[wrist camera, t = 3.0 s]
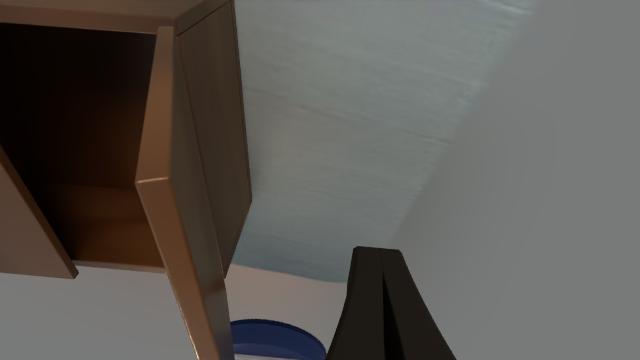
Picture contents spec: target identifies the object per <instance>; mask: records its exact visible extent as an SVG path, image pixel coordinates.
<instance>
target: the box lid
mask: <svg viewBox="0 0 640 360" xmlns="http://www.w3.org/2000/svg"><path fill="white" fill-rule="evenodd" d="M135 186H136V189H137V191H138V194H139V197H140V200H141V203H142V205H143V208H144V211H145V214H146V217H147V219H148V222H149V225H150V228H151V230H152V233H153V236H154V239H155V242H156V244H157V247H158V250H159V253H160V256H161V258H162V261H163V264H164V267H165V269H166V272H167V275H168V278H169V280H170V283H171V286H172V289H173V292H174V295H175V297H176V300H177V303H178V306H179V308H180V311H181V314H182V317H183V319H184V322H185V325H186V328H187V331H188V334H189V336H190V339H191V342H192V345H193V347H194V350H195V353H196V356H197V359H198V360H235V357H234V349H233V341H232V333H231V326H230V318H229V310H228V302H227V295H226V288H225V283H224V278H223V273H222V268H221V262H220V257H219V252H218V247H217V242H216V237H215V232H214V227H213V222H212V217H211V212H210V207H209V202H208V197H207V191H206V186H205V181H204V176H203V171H202V166H201V161H200V156H199V151H198V146H197V141H196V136H195V131H194V126H193V120H192V115H191V110H190V105H189V100H188V95H187V90H186V85H185V80H184V75H183V70H182V65H181V60H180V54H179V49H178V44H177V39H176V34H175V29H174V27H173V26H159V27H158V32H157V39H156V45H155V52H154V58H153V65H152V71H151V78H150V85H149V91H148V98H147V104H146V111H145V117H144V124H143V130H142V137H141V144H140V150H139V157H138V163H137V170H136V176H135Z"/></svg>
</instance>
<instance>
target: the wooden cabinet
mask: <svg viewBox="0 0 640 360" xmlns="http://www.w3.org/2000/svg"><path fill="white" fill-rule="evenodd" d="M159 26H173V27H174V29H175V34H176V39H177V44H178V49H179V54H180V60H181V65H182V70H183V75H184V80H185V85H186V90H187V95H188V100H189V105H190V110H191V115H192V120H193V126H194V131H195V136H196V141H197V146H198V151H199V156H200V161H201V166H202V171H203V176H204V181H205V186H206V191H207V197H208V202H209V207H210V212H211V217H212V222H213V227H214V232H215V237H216V242H217V247H218V252H219V257H220V262H221V268H222V273H223V278H224V279H225V278H226V275H227V271H228V269H229V266H230V263H231V260H232V257H233V254H234V252H235V249H236V246H237V243H238V240H239V237H240V234H241V231H242V228H243V225H244V223H245V220H246V217H247V214H248V211H249V208H250V205H251V202H252V192H251V181H250V171H249V160H248V149H247V138H246V127H245V116H244V105H243V94H242V83H241V72H240V62H239V51H238V40H237V29H236V18H235V7H234V0H0V272H2V273H12V274H22V275H33V276H45V277H55V278H66V279H75V278H76V276H77V275H78V274H79V272H78V270H77V269H76V267H75V265H77V266H87V267H99V268H109V269H120V270H131V271H142V272H153V273H164V274H167V272H166V269H165V267H164V264H163V261H162V258H161V256H160V253H159V250H158V247H157V244H156V242H155V239H154V236H153V233H152V230H151V228H150V225H149V222H148V219H147V217H146V214H145V211H144V208H143V205H142V203H141V200H140V197H139V194H138V191H137V189H136V186H135V176H136V170H137V163H138V157H139V150H140V144H141V137H142V130H143V124H144V117H145V111H146V104H147V98H148V91H149V85H150V78H151V71H152V65H153V58H154V52H155V45H156V39H157V32H158V27H159Z"/></svg>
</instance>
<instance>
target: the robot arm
mask: <svg viewBox="0 0 640 360" xmlns="http://www.w3.org/2000/svg"><path fill="white" fill-rule="evenodd" d="M234 357H235V360H298V359H288V358H277V357H267V356H256V355H246V354H235V353H234ZM325 360H456V358H455V356H454V355H453V353H452V351H451V350H450V348H449V346H448V345H447V343H446V341H445V340H444V338H443V336H442V334H441V333H440V331H439V329H438V327H437V326H436V324H435V322H434V320H433V319H432V316H431V314H430V313H429V311H428V309H427V307H426V305H425V303H424V301H423V299H422V297H421V295H420V293H419V291H418V289H417V287H416V285H415V283H414V281H413V278H412V276H411V274H410V272H409V270H408V267H407V265H406V263H405V260H404V258H403V255H402V253H401V252H400V251H399V250H396V249H385V248H373V247H362V246H357V247H355V248H353V254H352V260H351V266H350V271H349V277H348V283H347V296H346V300H345V303H344V307H343V311H342V314H341V317H340V320H339V323H338V326H337V329H336V332H335V334H334V337H333V340H332V343H331V346H330V348H329V351H328V353H327V356H326V358H325Z"/></svg>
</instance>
